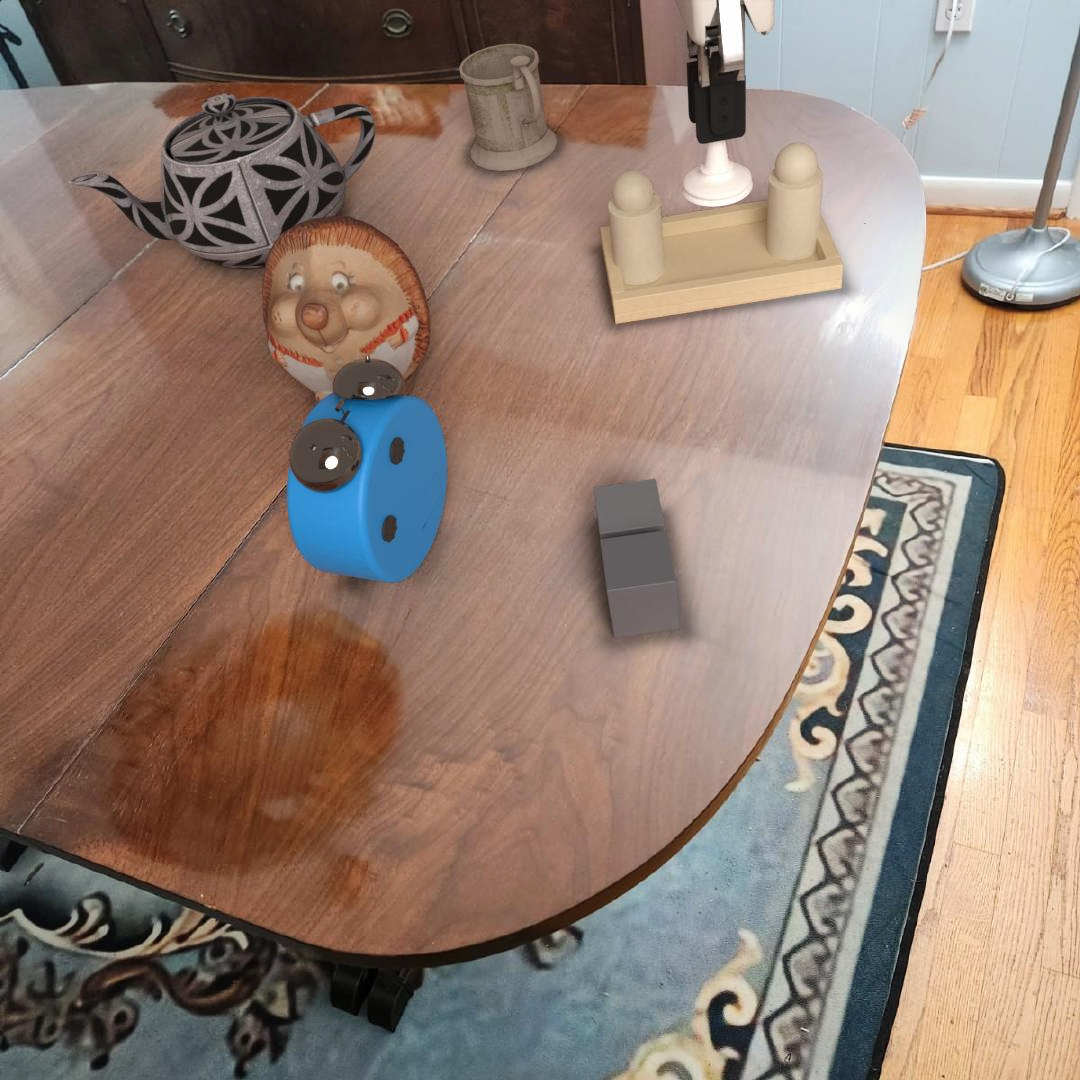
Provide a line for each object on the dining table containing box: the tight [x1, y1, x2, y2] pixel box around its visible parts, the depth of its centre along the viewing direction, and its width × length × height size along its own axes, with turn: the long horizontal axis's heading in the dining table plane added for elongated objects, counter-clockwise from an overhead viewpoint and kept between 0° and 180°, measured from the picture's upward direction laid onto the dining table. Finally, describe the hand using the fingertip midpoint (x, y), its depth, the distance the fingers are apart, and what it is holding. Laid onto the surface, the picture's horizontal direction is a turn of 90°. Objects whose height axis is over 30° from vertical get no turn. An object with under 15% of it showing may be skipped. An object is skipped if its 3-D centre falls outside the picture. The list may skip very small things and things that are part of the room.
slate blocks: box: [593, 478, 680, 639], centre depth 69 cm, size 4×10×5 cm, turn 3°
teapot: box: [68, 92, 376, 270], centre depth 103 cm, size 19×31×15 cm, turn 112°
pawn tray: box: [599, 142, 845, 325], centre depth 89 cm, size 20×12×11 cm, turn 93°
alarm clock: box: [286, 355, 448, 584], centre depth 70 cm, size 13×6×15 cm, turn 162°
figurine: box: [261, 215, 431, 403], centre depth 85 cm, size 14×16×15 cm
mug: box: [458, 43, 558, 172], centre depth 108 cm, size 14×10×12 cm
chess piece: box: [681, 46, 754, 208], centre depth 67 cm, size 5×5×10 cm
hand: (716, 126), depth 68 cm, fingers closed on chess piece
